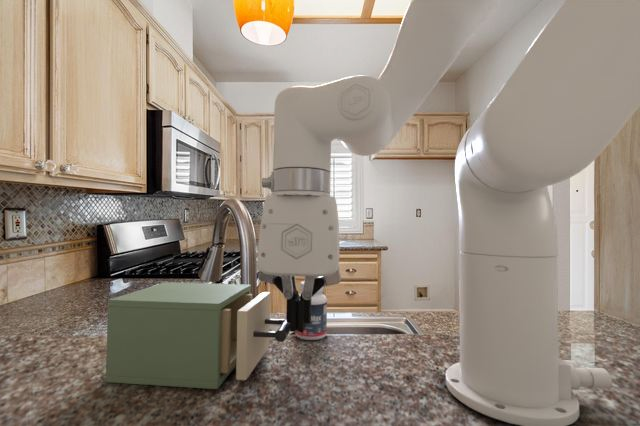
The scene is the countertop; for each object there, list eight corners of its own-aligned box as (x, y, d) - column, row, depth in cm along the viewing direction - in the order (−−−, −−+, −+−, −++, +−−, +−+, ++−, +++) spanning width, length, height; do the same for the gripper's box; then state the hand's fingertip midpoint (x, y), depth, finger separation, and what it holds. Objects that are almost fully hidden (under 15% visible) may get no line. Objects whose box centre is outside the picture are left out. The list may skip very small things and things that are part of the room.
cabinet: (250, 349, 48) (251, 284, 48) (217, 389, 36) (218, 303, 36) (163, 345, 49) (165, 282, 49) (105, 382, 37) (107, 299, 38)
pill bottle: (292, 339, 52) (292, 284, 52) (298, 329, 57) (299, 279, 57) (324, 341, 51) (325, 285, 51) (328, 331, 56) (328, 280, 56)
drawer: (297, 347, 46) (298, 292, 46) (281, 382, 36) (282, 312, 36) (188, 341, 48) (189, 289, 48) (143, 374, 38) (144, 307, 38)
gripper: (235, 182, 39) (231, 335, 38) (359, 183, 37) (357, 342, 37) (254, 189, 46) (251, 317, 46) (358, 190, 45) (356, 322, 44)
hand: (298, 328), depth 41 cm, fingers closed
